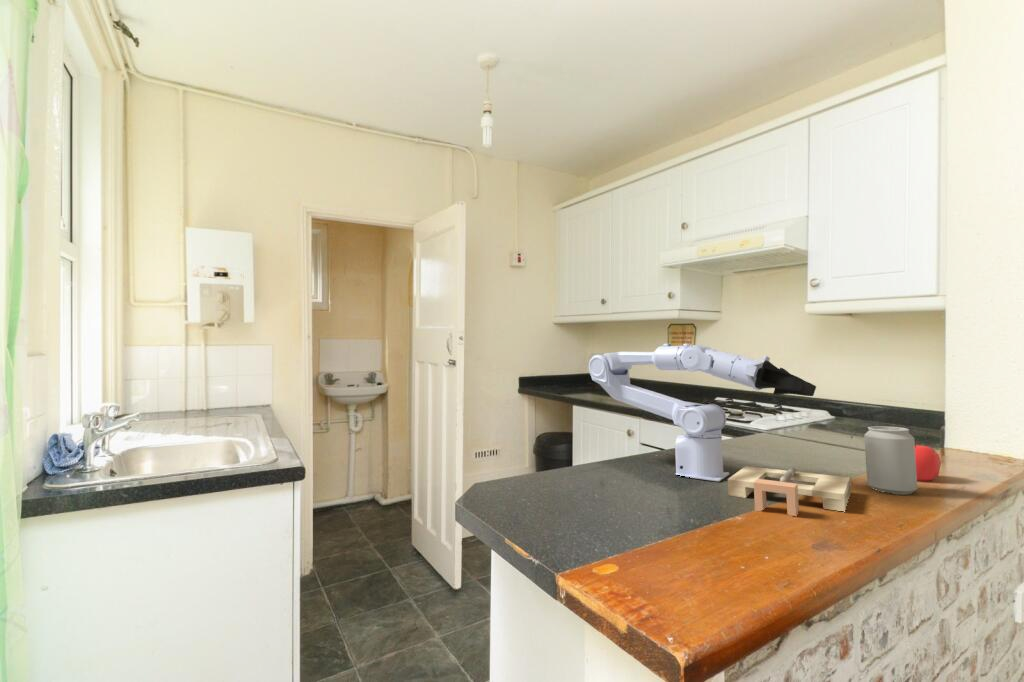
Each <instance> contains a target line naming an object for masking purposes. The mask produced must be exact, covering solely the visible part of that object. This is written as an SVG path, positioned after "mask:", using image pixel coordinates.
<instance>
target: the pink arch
mask: <svg viewBox="0 0 1024 682" xmlns="http://www.w3.org/2000/svg"><path fill="white" fill-rule="evenodd" d="M779 481H780V480H779ZM779 481H778V480H772V481H771V479H770V480H769V479H764V480H763V479H757V480H756V481H755V482H754V490H753V494H754V496H753V497H754V501H753V502H754V511H755V512H761V511H760V510H764V509H765V508H766V509H767V507H768V506H767V492H768V493H774V494H775V493H776V494H777V493H778V494H784V495H786V509H787V510H786V511H787V512H786V514H789V515H795V516H796V515H797V513H798V511H799V512H800V508H799V494H798V485H797V484H798V483H796V484H795V482H788V483H787V482H779ZM766 509H765V510H766ZM765 510H764V511H765ZM798 514H799V513H798ZM797 516H798V515H797ZM797 516H796V517H797Z"/></svg>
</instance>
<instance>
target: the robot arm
mask: <svg viewBox="0 0 1024 682" xmlns="http://www.w3.org/2000/svg"><path fill="white" fill-rule="evenodd" d="M770 359H771V358H770V357H769V356H767V355H763V356H762V359H761V360H759V359H754V358H751V357H746V356H743V355H739V354H735V353H730V352H727V351H724V350H716V349H715V348H714V349H713V348H711V346H708V345H704V344H700V345H699V344H698V345H696V344H693V345H691V344H690V343H683V345H672V343H663V345H662V346H661V345H660V346H658V347H657V348H655V350H654V351H616V352H608V353H603V355H601V354H594V355H593V356H592V357H591V358H590V359H589V362H588V371H589V375H590V377H591V380H592V381H593V382H595V383H597V384H599V386H600V387H601V388H602V389H603V390H604V391H605V392H606V393H607V394H608V395H609V396H610V398H612V399H613V400H616V401H618V402H621V403H624V404H625V405H626V404H627V405H630V406H632V407H635V408H639V409H641V410H643V411H646V412H649V413H652V414H655V415H656V416H657V415H658V416H660V417H663V418H666V419H668V420H672V421H673V424H674V425H675V426H677V427H679V428H681V429H682V430H683V431H684V432H685V433H684V434H678V435H677V436H676V439H675V444H674V447H675V449H674V450H675V451H674V452H675V455H674V456H675V474H676V475H680V476H679V477H681V476H685V477H684V478H689V477H690V479H698V480H705V481H712V482H721V481H722V480H724V479H725V478H726V477H728V476H729V475H730V472H728V471H724V461H723V460H724V459H723V458H724V456H723V436H722V430H723V428H725V426H726V423H727V415H726V412H725V411H724V409H723V408H722V407H721V406H719V405H717V404H715V403H708V404H702V403H698V402H693V401H692V402H691V401H684V400H682V399H679V398H676V397H672V396H669V395H666V394H662V393H659V392H656V391H654V390H649V389H646V388H643V387H640V386H637V385H634V384H631V379H630V378H631V377H630V371H629V370H631V369H632V367H633V366H634V365H636V366H641V365H646V366H647V365H654V366H655V367H656V368H657V369H658V370H659V371H687V372H691V373H693V372H699V371H700V372H701V373H705V374H709V375H711V376H713V377H716V378H719V379H722V380H726V381H729V382H733V383H737V384H739V385H743V386H746V387H749V388H753V390H757V391H760V390H763V389H774V390H773V393H772V394H773V395H776V396H781V395H795V396H796V395H797V396H798V395H799V396H806V397H813V396H814V395H815V391H816V390H817V386H816V385H815V384H813V383H810V382H808V381H806V380H804V379H802V378H800V377H799V376H796V375H794V374H792V373H790V372H789V371H788V370H787V369H785V368H783V367H779V368H778V367H777V366H776V365H774V364H773V363H772V362H771V361H770ZM675 474H674V475H675Z"/></svg>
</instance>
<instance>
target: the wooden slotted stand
mask: <svg viewBox="0 0 1024 682" xmlns="http://www.w3.org/2000/svg"><path fill="white" fill-rule="evenodd" d="M766 478H771V479H779V482H787V483H789V482H790V481H798V482H804V483H805V482H808V483H813V484H814V483H815V484H814V485H813V484H804V483H803V484H802V483H795V482H794V483H795V484H797V485H798V495H802V496H809V497H817V498H822V508H826V509H831V510H837V511H844V512H845V513H846V511H845V510H847V508H846V506H847V507H848V505H847V503H848V504H849V501H848V499H849V500H850V498H849V496H850V497H851V495H850V492H851V493H852V491H851V477H850V476H849V477H848V476H840V475H831V474H823V473H814V472H802V471H797V469H796V468H795V466H794V467H793V466H791V467H790V468H789V469H787V470H784V469H777V468H775V469H774V468H767V467H759V466H758V467H757V466H756V467H755V466H749V465H748V466H747V465H745V466H743V467H742V468H741V469H740V470H738V471H737V472H736V473H734V474H732V475H731V476H730V477H728V478H727V492H728V493H727V496H729V497H730V496H731V497H736V498H737V497H738V498H744V499H746V498H748V496H750V494H752V493H753V492H754V482H755V481H756V480H757V479H763V480H765V479H766ZM771 479H770V480H771ZM771 481H773V480H771ZM837 511H836V512H837ZM844 512H843V513H844Z"/></svg>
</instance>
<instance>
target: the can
mask: <svg viewBox="0 0 1024 682" xmlns="http://www.w3.org/2000/svg"><path fill="white" fill-rule="evenodd" d="M867 429H868V431H866V432H865V433H864V435H863V436H864V439H863V440H864V451H865V454H864V455H865V471H866V484H867V485H868V486H869V487H871V488H872V489H873V488H874V489H877V490H880V491H884V492H889V493H892V495H899V494H900V495H901V496H903V495H904V496H905V495H906V496H907V495H912V494H913V493H914V492H916V491H917V490H918V481H917V473H916V458H915V443H916V441H915V442H914V440H915V437H914V436H913V435H912V434H910V433H909V431H910V429H909V428H906V427H900V426H888V425H887V426H886V425H885V426H884V425H882V426H881V425H880V426H879V425H877V426H876V425H874V426H868V427H867ZM874 489H873V490H874ZM884 492H883V493H884ZM889 493H888V494H889Z"/></svg>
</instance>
